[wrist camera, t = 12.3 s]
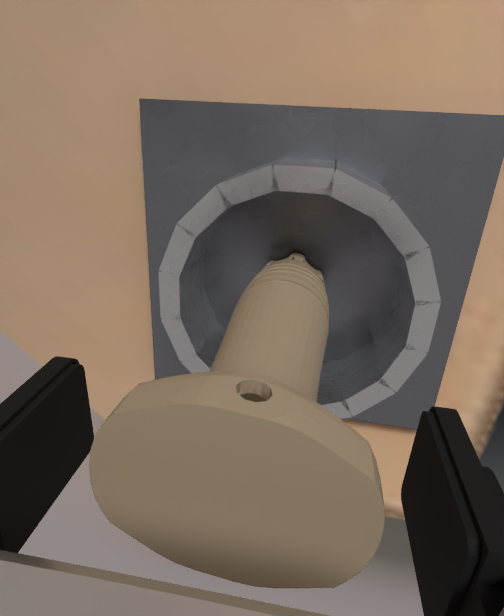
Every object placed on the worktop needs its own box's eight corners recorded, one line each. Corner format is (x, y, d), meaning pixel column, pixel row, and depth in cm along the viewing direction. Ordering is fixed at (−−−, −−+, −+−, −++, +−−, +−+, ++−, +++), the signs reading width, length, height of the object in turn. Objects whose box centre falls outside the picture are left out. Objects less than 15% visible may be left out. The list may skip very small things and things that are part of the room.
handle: (340, 332, 23) (348, 615, 10) (229, 306, 24) (88, 538, 10) (364, 249, 21) (416, 458, 8) (242, 224, 22) (89, 374, 8)
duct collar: (161, 380, 28) (128, 429, 24) (147, 99, 21) (96, 93, 17) (424, 420, 26) (442, 483, 21) (506, 116, 19) (560, 113, 14)
